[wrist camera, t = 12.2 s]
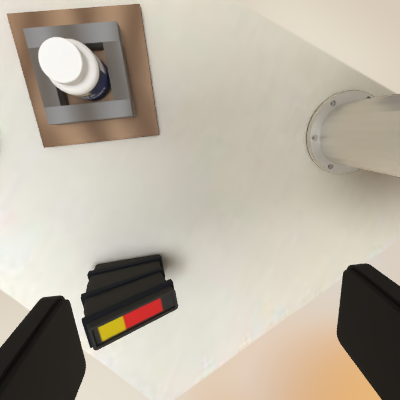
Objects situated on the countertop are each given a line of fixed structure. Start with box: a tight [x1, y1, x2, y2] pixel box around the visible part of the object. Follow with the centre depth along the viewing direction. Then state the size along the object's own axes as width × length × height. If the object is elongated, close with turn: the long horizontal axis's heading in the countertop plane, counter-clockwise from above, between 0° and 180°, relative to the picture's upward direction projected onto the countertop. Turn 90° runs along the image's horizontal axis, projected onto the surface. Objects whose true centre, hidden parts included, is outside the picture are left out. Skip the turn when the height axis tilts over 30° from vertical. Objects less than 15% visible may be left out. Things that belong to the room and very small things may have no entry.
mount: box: [7, 4, 159, 148], centre depth 32 cm, size 16×16×4 cm
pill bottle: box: [38, 37, 111, 101], centre depth 28 cm, size 5×5×10 cm
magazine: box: [81, 255, 178, 350], centre depth 37 cm, size 4×13×15 cm, turn 97°
